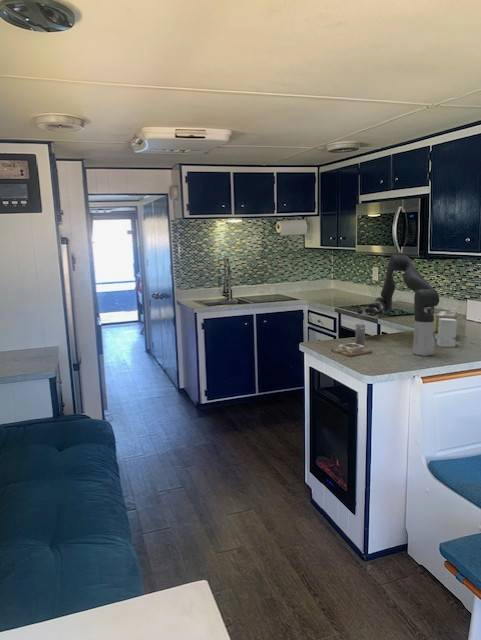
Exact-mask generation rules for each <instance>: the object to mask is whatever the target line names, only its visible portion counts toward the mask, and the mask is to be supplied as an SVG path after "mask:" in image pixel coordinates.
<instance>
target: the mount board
mask: <svg viewBox="0 0 481 640" xmlns="http://www.w3.org/2000/svg"><path fill="white" fill-rule="evenodd" d="M330 351H331V352H333V353H337V354H339V355H342V356H345V357H348V358H351V357H353V358H354V357H358V356H363V355H369V354H373V350H369V349H366V345H365V346H363V345H359V344H356V343H355V342H348V343H343V344H338V347H337V348H336V347H335V348H330Z"/></svg>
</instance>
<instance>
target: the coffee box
mask: <svg viewBox="0 0 481 640" xmlns="http://www.w3.org/2000/svg"><path fill="white" fill-rule="evenodd" d="M424 312H426V313H428V314H431V315H433V316H434V317H435V315H434V314H435V307H426V308H424Z"/></svg>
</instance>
